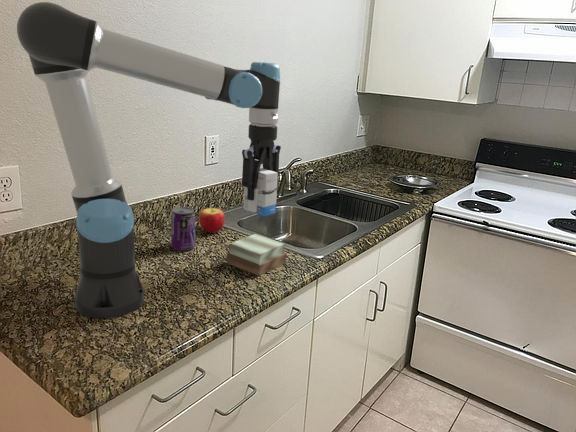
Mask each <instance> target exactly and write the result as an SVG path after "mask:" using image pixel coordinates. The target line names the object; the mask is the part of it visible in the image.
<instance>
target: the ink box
mask: <svg viewBox="0 0 576 432" xmlns="http://www.w3.org/2000/svg"><path fill="white" fill-rule="evenodd" d="M277 178H278V179H279V174H278V172H274V171H270V170H267V169H263V167H260V171H259V175H258V180H257V185H256V188H257V189H258V203H257V212H252V211H249V210H248V199H247V195H248V194H247V192H248V189H247V187H244V186H243V210H245V211H248V212H251V213H253V214H256V215H259V216H262V217H267V216H271V215H274V214H276V213H277V196H278V194H277V193H278V180H277Z"/></svg>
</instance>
